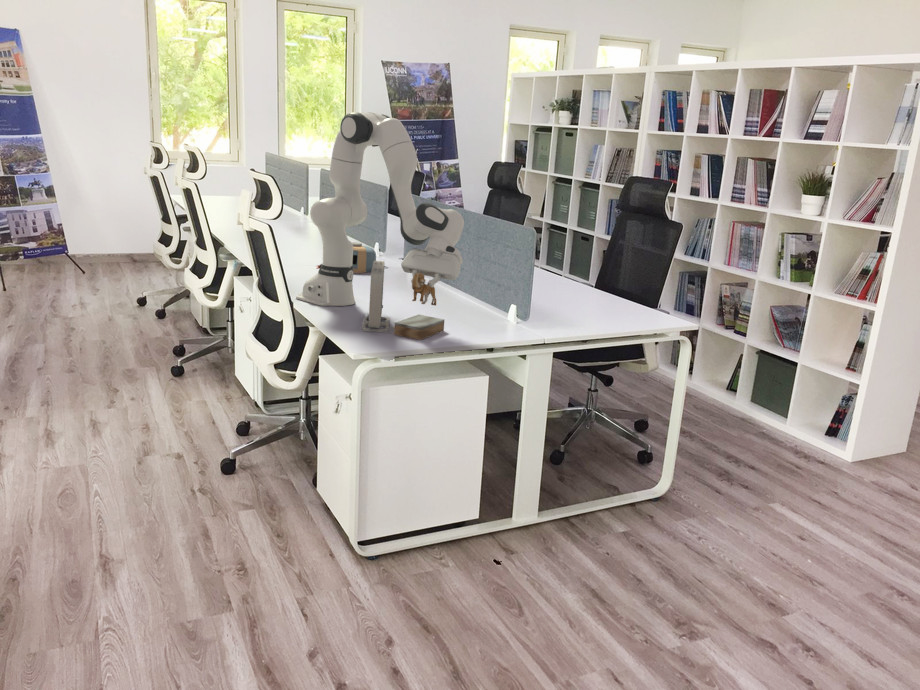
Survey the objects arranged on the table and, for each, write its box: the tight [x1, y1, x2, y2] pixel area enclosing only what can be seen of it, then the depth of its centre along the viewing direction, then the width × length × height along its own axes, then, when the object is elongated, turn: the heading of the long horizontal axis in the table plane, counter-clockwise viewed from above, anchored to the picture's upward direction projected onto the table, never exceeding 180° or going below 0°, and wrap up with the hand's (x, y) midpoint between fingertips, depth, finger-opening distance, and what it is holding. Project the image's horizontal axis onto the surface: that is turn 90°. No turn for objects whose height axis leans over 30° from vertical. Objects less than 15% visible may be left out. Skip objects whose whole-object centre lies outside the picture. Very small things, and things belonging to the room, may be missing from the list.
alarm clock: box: [351, 241, 377, 274], centre depth 369 cm, size 19×20×12 cm
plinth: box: [393, 314, 446, 341], centre depth 265 cm, size 10×16×4 cm, turn 153°
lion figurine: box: [411, 273, 437, 306], centre depth 263 cm, size 15×5×9 cm, turn 157°
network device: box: [361, 260, 390, 333], centre depth 269 cm, size 26×9×20 cm, turn 4°
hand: (421, 284), depth 261 cm, fingers closed on lion figurine, 5 cm apart
